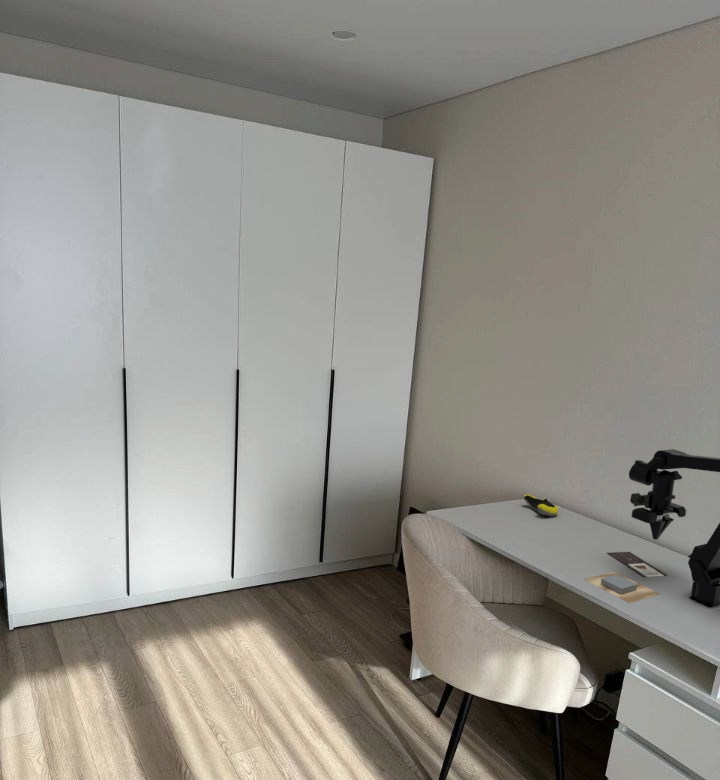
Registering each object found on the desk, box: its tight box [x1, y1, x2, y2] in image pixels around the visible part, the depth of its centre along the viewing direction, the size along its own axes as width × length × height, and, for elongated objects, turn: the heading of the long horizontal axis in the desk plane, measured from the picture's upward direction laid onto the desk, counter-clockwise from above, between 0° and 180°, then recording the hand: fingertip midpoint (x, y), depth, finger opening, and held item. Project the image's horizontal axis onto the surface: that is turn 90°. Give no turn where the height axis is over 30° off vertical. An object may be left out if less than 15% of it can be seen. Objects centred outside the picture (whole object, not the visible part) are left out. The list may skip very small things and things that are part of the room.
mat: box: [583, 571, 661, 604], centre depth 191 cm, size 16×14×1 cm
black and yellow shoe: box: [523, 493, 560, 518], centre depth 254 cm, size 15×6×10 cm
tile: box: [601, 575, 637, 594], centre depth 190 cm, size 7×2×7 cm
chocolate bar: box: [606, 551, 668, 578], centre depth 209 cm, size 9×1×18 cm
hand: (655, 539), depth 199 cm, fingers closed
